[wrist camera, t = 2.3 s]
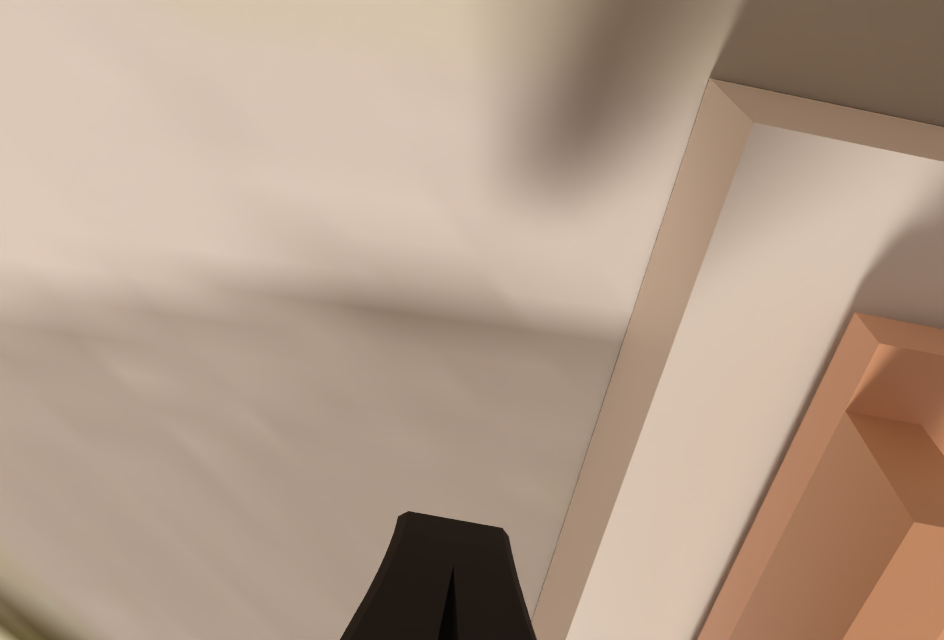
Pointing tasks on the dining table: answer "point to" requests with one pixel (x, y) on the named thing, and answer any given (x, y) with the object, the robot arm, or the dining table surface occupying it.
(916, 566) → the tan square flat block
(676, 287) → the socket
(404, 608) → the robot arm
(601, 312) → the dining table surface
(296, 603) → the dining table surface
